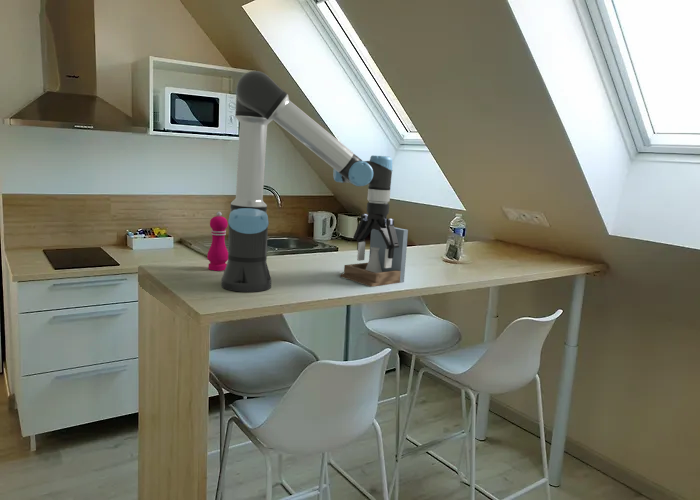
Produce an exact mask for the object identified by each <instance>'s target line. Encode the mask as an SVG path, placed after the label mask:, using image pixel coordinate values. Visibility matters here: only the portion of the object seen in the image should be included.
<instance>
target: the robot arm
mask: <svg viewBox="0 0 700 500" xmlns="http://www.w3.org/2000/svg"><path fill="white" fill-rule="evenodd" d="M235 98H236V99H235V118H236V119H237V121H238V122H239V136H238V149H237V150H238V151H237V152H238V154H237V167H236V168H237V170H236V186H235V187H236V191H235V199H233V200H232V201H231V202H230V212H229V214H228V215H229V216H228V219H227V222H228V240H227V241H228V242H227V243H228V244H227V247H228V248H227V251H228V260H227V262H226V264H227V265H226V268H225V270H224V272H223V274H222V277H221V284H220V285H221V288H222V289H225V290H228V291H234V292H240V293H241V292H243V293H247V292H248V293H253V292H263V291H267V290H270V289H271V288H272V277H271V273H270V270H269V266H268V263H267V256H268V230H269V228H268V227H269V223H270V222H269V215H268V214H267V209H268V208H267V207H268V204H267V203H266V202H264V183H265V182H264V181H265V170H266V169H265V167H266V166H265V165H266V150H267V134H268V125H269V124H270V123H271V122H272V121H274V122H275V123H277V125H278V126H280V127H281V128H282V129H283V130H285V131H286V132H288V134H290V135H292V136H293V137H294V138H295V139H296V140H297V141H299V142H300V143H301V144H303V145H304V146H305V147H306V148H307V149H309V150H310V151H311V152H313V153H314V154H315V155H316V156H317V157H318V158H320V159H321V160H322V161H324V162H325V163H326V164H328V166H330V167H331V168H332V169H333V170H332V171H333V180H334V181H335V182H336V183H342V184H344V183H345V184H346V183H348V184H351V185H354V186H355V187H365V186H367V185H368V187H367V188H368V189H367V198H366V199H367V201H368V202H367V203H366V213H362V214H361V215H360V221H359V222H358V226H357V228H356V230H355V232H354V235H353V239H354V240H356V243H357V248H356V251H357V256H356V257H357V258H356V259H357V261H361V262H362V261H365V255H366V239H367V237H368V236H369V235H370V234H371V230H372V229H375V230H379V232H381V235H382V237H383V239H384V241H385V243H386V246H387V248H386V249H385V262H384V268H391V266H392V258H393V256H394V249H395V248H398V247H399V243H398V239H397V235H396V231H395V228H396V227H395V219H394V218H388V217H387V216H388V215H389V213H390V204H389V203H390V201H391V200H390V199H391V187H392V186H391V185H392V176H393V174H392V173H393V158H392V157H391V156H386V155H385V156H384V155H371V156H370V158H369V160H363V159H361V158H360V157H359V156H358V155H356V154H355V153H354V152H353V151H352V150H350V149H349V148H348V147H347V146H346V145H344V144H343V143H342V142H341V141H339V140H338V138H336V137H335V136H333V135H332V134H331V133H330V132H329V131H327V130H326V129H325V128H324V127H323V126H322V125H320V124H319V123H318V122H316V121H315V120H314V119H313V118H312V117H310V116H309V115H308V114H307V113H305V111H303V110H302V109H301V108H299V107H298V106H297V105H296V104H295V103H293V102H292V101H291V100H290V97H289V94H288V93H287V92H286V91H284V90H283V89H282V88H281V87H280V86H279V85H278V84H277V83H276V82H275V81H274V80H273V79H272V78H271V77H270V76H269V75H267V73H265V72H262V71H259V70H251V71H247V72H246V73H245V74H242V75H241V77H240V78H239V80H238V81H237V84H236V88H235Z"/></svg>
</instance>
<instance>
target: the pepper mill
mask: <svg viewBox="0 0 700 500" xmlns="http://www.w3.org/2000/svg"><path fill="white" fill-rule="evenodd" d="M222 215H223V213H222V212H221V211H217V212H216V214H215V216H213V217H211V219H210V220H209V227H210V228H211V230H210V232H211V233H210V235H211V237H212V238H211V245H210V247H209V249H208V251H207V254H206V255H207V256H206V258H207V260H208V262H209V263H208V270H210V271H212V270H214V271H215V272H222V271H223V270H224V271H225V268H226V265H227V263H228V248H227V246H226V242H225V239H226V238H225V237H226V235H227V234H226V232H227V230H226V229H227V228H228V227H229V223H228V219H227V218H226V217H224V216H222ZM214 271H213V272H214Z"/></svg>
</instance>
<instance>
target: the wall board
mask: <svg viewBox="0 0 700 500" xmlns="http://www.w3.org/2000/svg"><path fill="white" fill-rule="evenodd" d="M395 231H396V235H397V239H398V243H399V247H398V248H395V249H394V256H393V258H392V266H391V268H384V262H385V249H386V248H387V246H386V243H385V241H384V239H383V237H382V235H381V232H379V230H375V229H372V230H371V232H370V244H369V256H368V257H369V258H368V260H369V259H370V256H371V247H378V248H380V249H379V252H378V255H379V261H380V265H381V269H382V272H388V271H396V270H398V271H401V274H400V283H404V282H405V273H406V261H407V260H406V259H407V247H408V238H409V237H408V234H409V229H406V228H405V229H404V228H400V227H395ZM400 283H399V284H400Z"/></svg>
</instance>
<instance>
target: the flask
mask: <svg viewBox="0 0 700 500" xmlns="http://www.w3.org/2000/svg"><path fill="white" fill-rule="evenodd" d="M379 249H380V248H378V247H371V256H370V259H369V258H368V262H367V263H368V264H367V267H366V269H365V270H368V271H371V272H375V273H380V272H382V269H381V265H380V261H379V255H378V252H379Z"/></svg>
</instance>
